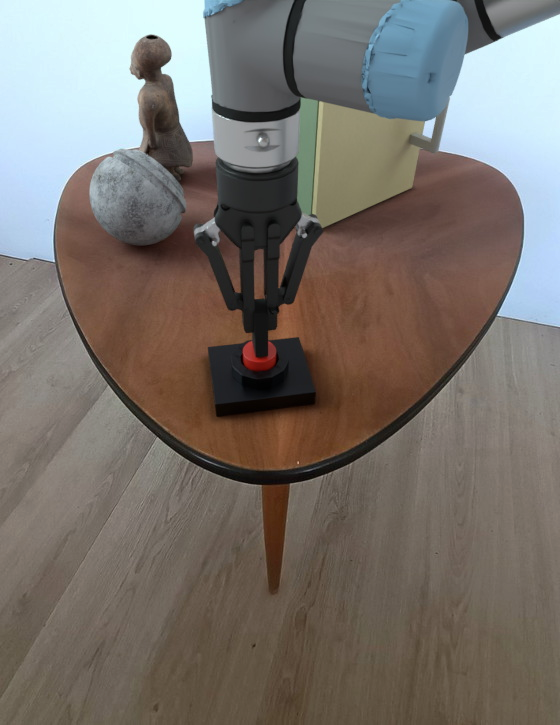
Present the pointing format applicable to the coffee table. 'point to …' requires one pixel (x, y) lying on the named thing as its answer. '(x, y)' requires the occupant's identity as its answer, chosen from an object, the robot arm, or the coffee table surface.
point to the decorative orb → (136, 198)
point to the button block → (260, 379)
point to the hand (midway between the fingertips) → (260, 349)
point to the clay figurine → (159, 107)
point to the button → (259, 358)
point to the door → (365, 159)
